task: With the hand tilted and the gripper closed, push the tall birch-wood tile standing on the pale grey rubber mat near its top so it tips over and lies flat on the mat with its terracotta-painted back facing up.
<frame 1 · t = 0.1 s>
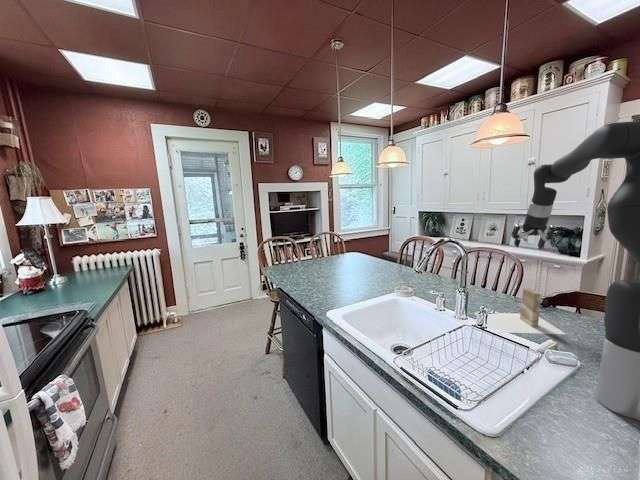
hand: (528, 246, 117), 31 cm above the worktop, tool tilted 20°, fingers open, 8 cm apart
wooden tile: (528, 322, 111), point 1 cm above the worktop, touching rubber mat
rubber mat: (515, 323, 112), on the worktop
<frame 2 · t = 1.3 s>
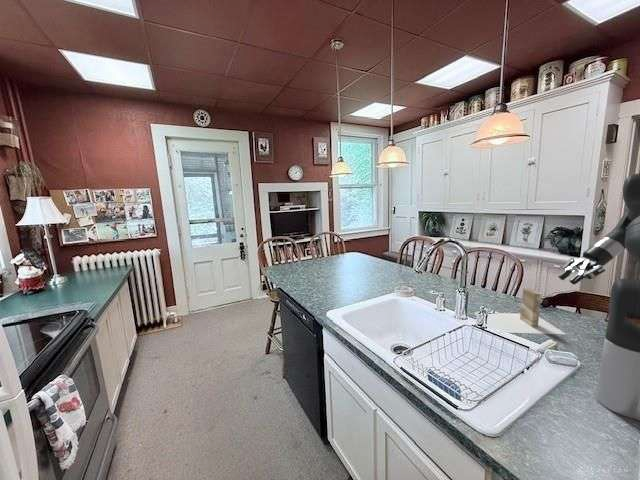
hand: (565, 280, 107), 19 cm above the worktop, tool tilted 45°, fingers open, 5 cm apart
nothing on the worktop moved.
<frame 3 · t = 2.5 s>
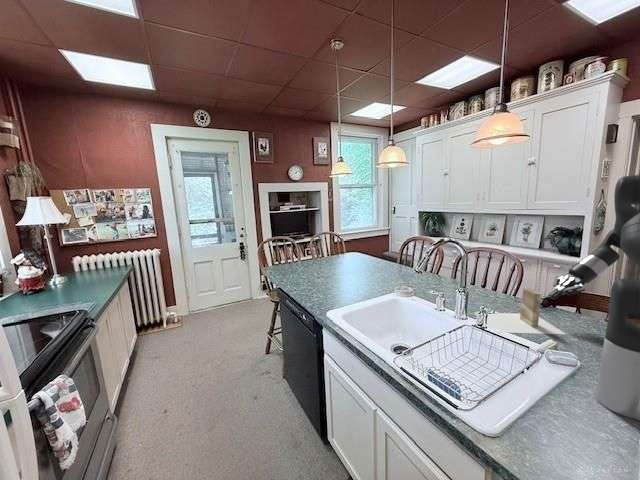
hand: (551, 297, 109), 12 cm above the worktop, tool tilted 45°, fingers closed
nothing on the worktop moved.
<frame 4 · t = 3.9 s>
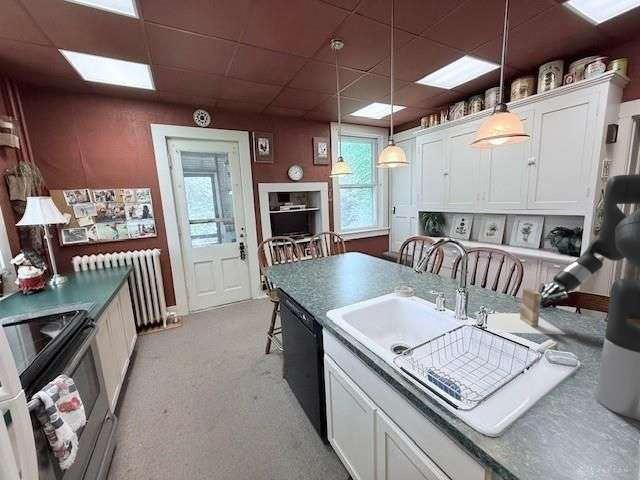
hand: (536, 304, 110), 9 cm above the worktop, tool tilted 45°, fingers closed
wooden tile: (528, 322, 111), point 1 cm above the worktop, touching gripper, rubber mat
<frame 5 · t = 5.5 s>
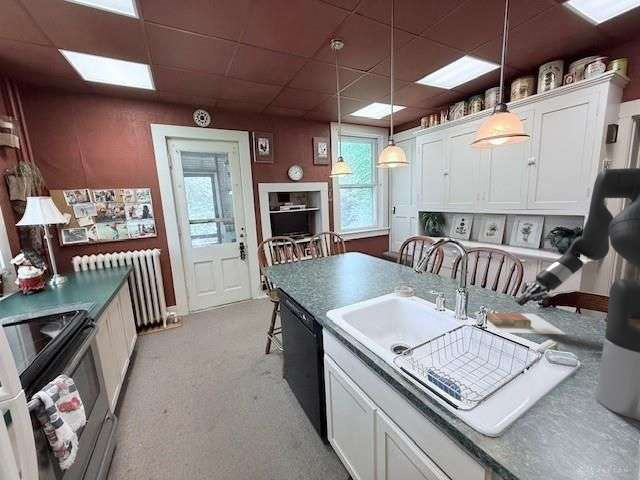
hand: (518, 303, 110), 9 cm above the worktop, tool tilted 45°, fingers closed
wooden tile: (525, 319, 111), point 2 cm above the worktop, tilted 90°, touching rubber mat
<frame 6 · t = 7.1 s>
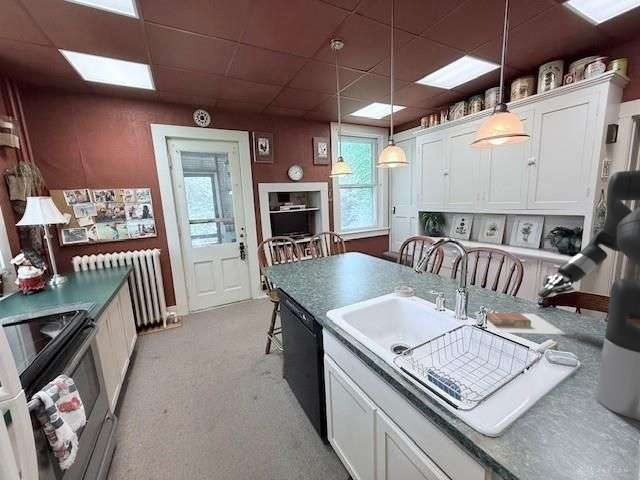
hand: (540, 296, 109), 12 cm above the worktop, tool tilted 45°, fingers closed
nothing on the worktop moved.
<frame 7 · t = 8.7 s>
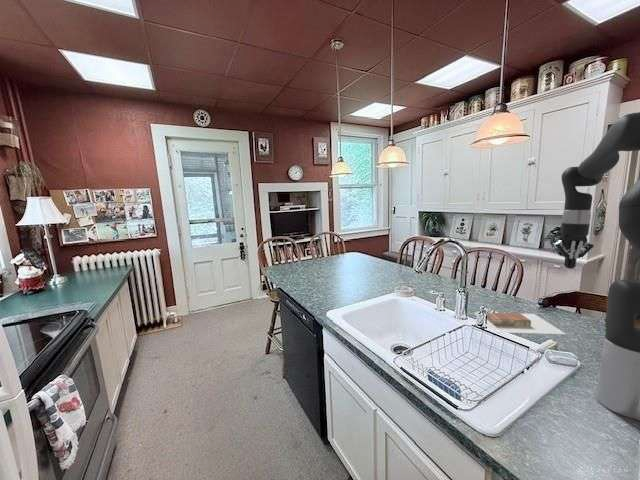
hand: (569, 268, 100), 26 cm above the worktop, tool pointing down, fingers closed
nothing on the worktop moved.
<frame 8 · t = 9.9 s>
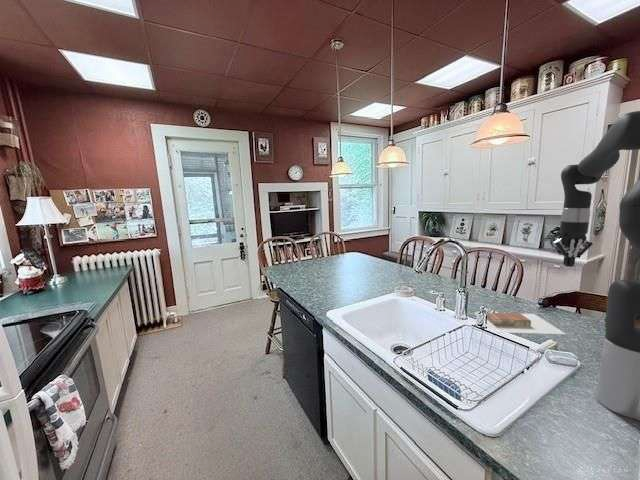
hand: (568, 266, 100), 27 cm above the worktop, tool pointing down, fingers closed
nothing on the worktop moved.
at the end: wooden tile tilted 90°; wooden tile touching rubber mat; wooden tile 3.5 cm from the rubber mat (horizontally) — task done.
